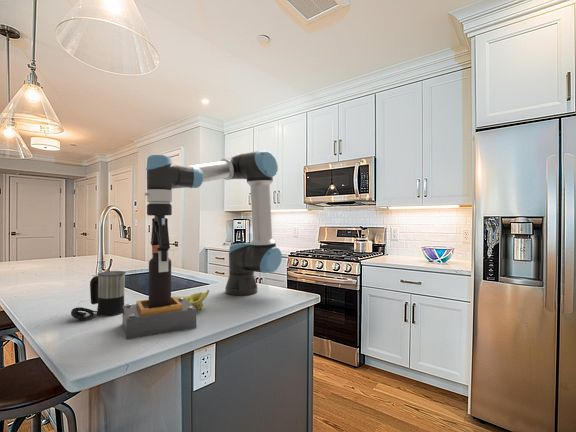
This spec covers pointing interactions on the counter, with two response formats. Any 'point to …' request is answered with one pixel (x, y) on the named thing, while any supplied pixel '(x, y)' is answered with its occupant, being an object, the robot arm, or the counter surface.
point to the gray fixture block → (158, 318)
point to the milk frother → (104, 295)
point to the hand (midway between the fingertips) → (159, 268)
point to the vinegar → (159, 282)
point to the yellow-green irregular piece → (196, 299)
